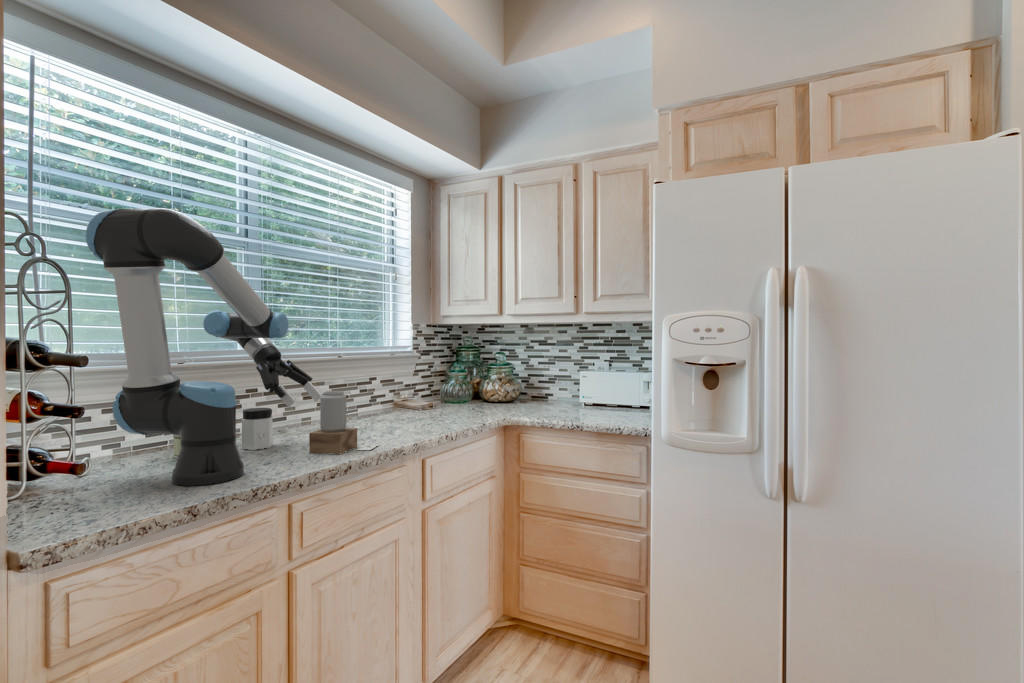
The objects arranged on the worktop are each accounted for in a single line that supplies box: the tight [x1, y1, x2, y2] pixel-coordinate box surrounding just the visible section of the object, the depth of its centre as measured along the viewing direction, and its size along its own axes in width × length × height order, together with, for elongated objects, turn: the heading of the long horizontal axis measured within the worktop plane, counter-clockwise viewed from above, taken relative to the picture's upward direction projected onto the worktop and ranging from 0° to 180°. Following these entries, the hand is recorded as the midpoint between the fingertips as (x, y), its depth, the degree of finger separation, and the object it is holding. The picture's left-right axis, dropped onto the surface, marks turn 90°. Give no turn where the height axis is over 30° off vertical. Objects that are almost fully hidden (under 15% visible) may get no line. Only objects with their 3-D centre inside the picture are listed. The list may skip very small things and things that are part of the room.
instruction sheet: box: [362, 444, 380, 448], centre depth 158 cm, size 8×5×1 cm, turn 176°
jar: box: [241, 407, 274, 451], centre depth 160 cm, size 9×8×12 cm
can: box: [319, 390, 347, 432], centre depth 155 cm, size 8×8×12 cm
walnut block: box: [308, 427, 358, 455], centre depth 155 cm, size 10×10×6 cm
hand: (306, 401), depth 157 cm, fingers open, 13 cm apart
